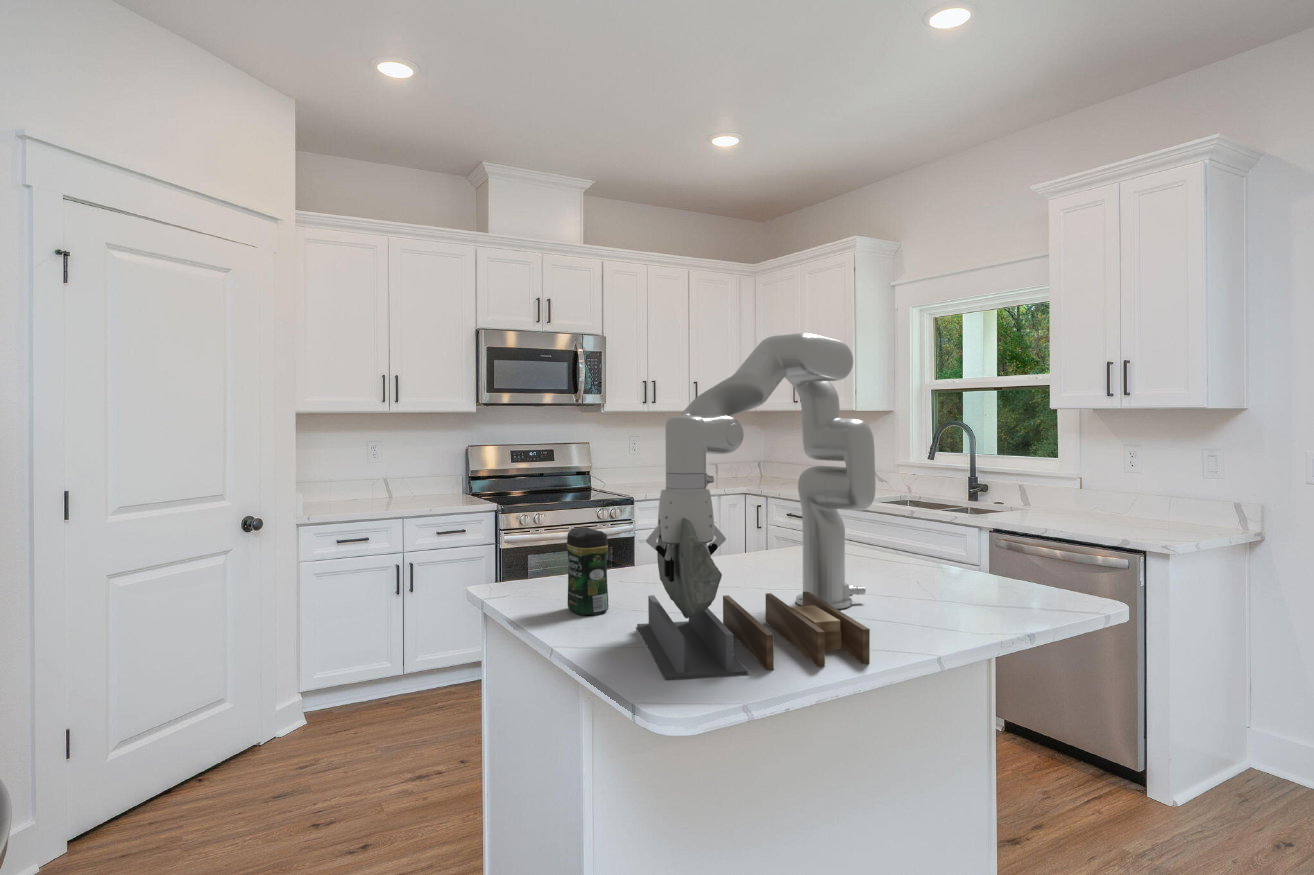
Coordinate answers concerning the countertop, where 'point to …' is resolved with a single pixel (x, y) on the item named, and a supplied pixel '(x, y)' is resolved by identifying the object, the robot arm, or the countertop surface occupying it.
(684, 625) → the slab stand
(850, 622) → the walnut rack
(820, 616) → the offcut
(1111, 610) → the countertop surface
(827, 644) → the offcut
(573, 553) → the coffee jar
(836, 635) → the offcut
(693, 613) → the rock
